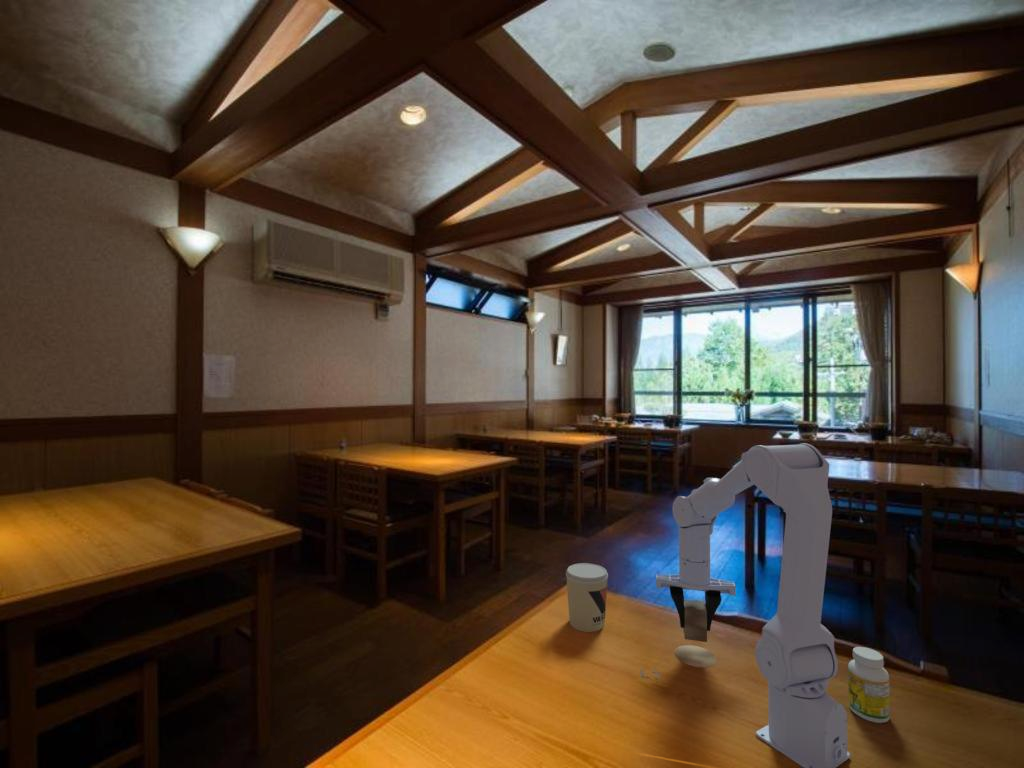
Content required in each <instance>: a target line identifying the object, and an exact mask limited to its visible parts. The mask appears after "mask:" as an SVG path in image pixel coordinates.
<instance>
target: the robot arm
mask: <svg viewBox="0 0 1024 768" xmlns="http://www.w3.org/2000/svg"><path fill="white" fill-rule="evenodd" d="M829 474H830V463H829V462H828V460H827V459H826V457H824V456H823V454H822V453H821V452H820V450H819V449H818V448H817V447H815V446H813V445H812V444H809V443H804V442H803V443H802V442H801V443H797V444H783V445H782V444H781V445H780V444H779V445H762V444H759V445H758V444H757V445H754V446H752V447H750V448H749V449H748V451H746V452H743V453H742V454H741V459H740V461H739V462H738V463H737V464H736V465H735V466H733V467H732V468H731V469H730V470H729V471H728V472H726V474H725V475H723V477H721V478H718V477H706V478H705V479H704V480H703V484H702V485H701V486H700V487H698V488H694V489H692V490H691V493H690V494H689V495H688V496H682V495H678V496H676V498H675V499H674V500H673V503H672V516H673V519H674V521H675V523H676V524H677V525H678V574H677V573H676V574H655V588H656V589H662V588H669V591H670V592H669V593H670V597H671V599H672V601H673V603H674V606H675V608H676V611H677V615H678V618H679V624H680V628H682V629H683V628H684V625H685V621H684V599H685V596H684V590H688V591H689V590H690V591H698V592H704V602H705V606H706V609H707V632H710V631H711V626H712V622H713V619H714V616H715V613H716V612H717V609H718V608H719V606H720V605H721V603H722V594H727V595H729V596H732V597H733V596H734V597H736V590H737V589H736V587H737V586H736V584H735V582H734V581H729V580H723V579H718V578H714V577H711V535H712V534H713V532H714V525H715V523H716V521H717V518H718V515H719V514H721V513H723V512H725V511H726V510H728V509H729V508H730V507H732V506H733V505H734V504H735V503H736V502H735V501H736V495H738V494H740V493H742V492H743V491H744V490H747V489H748V488H751V487H752V486H755V487H757V488H758V490H759V491H761V493H763V494H764V495H765V496H766V497H767V498H768V499H769V500H770V501H772V503H773V504H775V505H776V506H778V507H780V508H782V510H783V511H784V512H785V525H784V534H783V535H784V537H783V547H782V557H781V565H780V575H779V576H780V578H779V588H778V598H777V599H778V600H777V607H776V610H777V611H776V614H774V616H773V617H772V618H771V619H769V621H768V622H767V623H766V624H765V625H764V626H762V629H761V630H762V631H761V637H760V639H759V640H758V641H757V643H756V645H755V650H754V654H755V662H756V665H757V667H758V670H759V671H760V673H761V675H762V676H763V678H764V679H765V680H766V681H767V682H768V685H767V686H768V692H767V693H768V696H767V697H768V724H767V725H765V726H764V727H762V728H760V729H758V730H757V731H755V736H756V737H757V738H759V739H760V740H762V741H763V742H765V743H766V744H767V745H768V746H771V747H772V748H774V749H775V750H776V751H778V752H780V753H781V754H782V755H784V756H785V757H787V758H789V759H790V760H791V761H793V762H795V763H796V764H797V765H799V766H800V767H802V768H838V767H839V766H840V765H842V764H843V763H845V761H846V762H847V761H848V759H849V758H851V753H850V752H849V751H848V715H847V711H846V708H845V707H844V705H842V703H839V702H838V701H837V700H835V699H834V698H833V697H832V696H831V695H830V694H829V693H828V692H827V690H826V689H827V688H829V679H832V678H834V677H836V675H837V673H838V670H839V669H838V668H839V663H838V658H837V654H836V651H835V639H836V638H835V636H834V635H833V634H832V632H830V630H829V629H828V628H827V627H826V626H824V625H823V624H822V623H821V622H822V615H823V614H822V613H823V603H824V594H825V593H824V592H825V585H826V576H827V574H826V573H827V568H828V567H827V565H828V555H829V547H830V537H831V536H830V535H831V527H832V519H833V518H832V517H833V506H832V500H831V497H830V496H831V495H830V491H829V487H828V483H829V482H828V481H829Z"/></svg>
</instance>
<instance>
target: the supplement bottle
mask: <svg viewBox="0 0 1024 768" xmlns="http://www.w3.org/2000/svg"><path fill="white" fill-rule="evenodd" d="M852 657H853V659H851V660H850V661H849V663H848V665H847V669H848V670H847V674H848V676H847V678H848V679H847V681H848V707H849V709H850V710H851V712H853V713H854V714H855V715H857V716H858V717H860V718H861V719H863V720H866V721H868V722H872V723H876V724H884V723H887V722H889V720H890V717H891V716H890V715H891V714H890V713H891V706H890V703H891V702H890V675H889V673H888V671H887V670H886V669H885V667H884V665H885V660H884V659H885V658H884V656H883V655H882V653H880V652H879V651H877V650H874V649H872V648H869V647H866V646H865V647H864V646H855V647H854V648H853V649H852Z"/></svg>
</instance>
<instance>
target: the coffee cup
mask: <svg viewBox="0 0 1024 768" xmlns="http://www.w3.org/2000/svg"><path fill="white" fill-rule="evenodd" d="M565 571H566V572H565V576H566V591H567V602H568V603H567V604H568V615H569V617H568V618H569V624H570V626H571V627H572V628H573V627H574V629H575V630H577V629H578V631H579V632H587V633H592V632H593V631H594V632H597V631H598V630H599V631H600V629H601V630H603V628H605V622H606V610H607V607H606V606H607V595H608V593H607V592H608V579H609V574H608V573H609V572H608V571H607V569H606V568H605V567H603V566H601V565H599V564H594V563H588V562H582V563H575V564H571V565H569V566H568V567H567V569H566V570H565Z"/></svg>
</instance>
